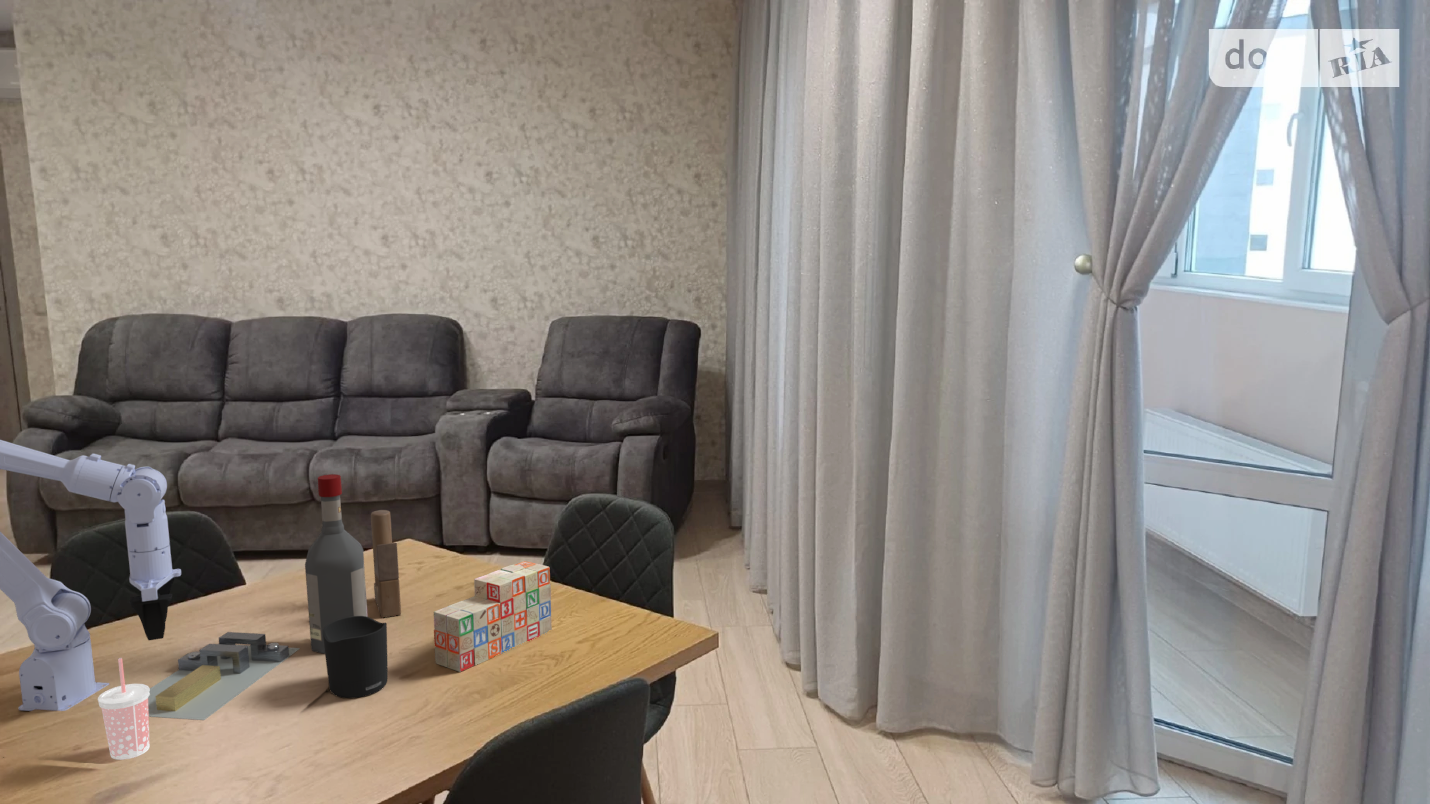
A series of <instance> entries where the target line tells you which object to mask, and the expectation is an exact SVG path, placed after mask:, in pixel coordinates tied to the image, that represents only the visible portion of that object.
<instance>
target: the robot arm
mask: <svg viewBox="0 0 1430 804" xmlns="http://www.w3.org/2000/svg"><path fill="white" fill-rule="evenodd" d="M101 458H102V455H101V454H97V453H91V454H90V455H89V456H87V455H83V454H82V455H80V456H79V455H78V456H77V457H76V458H73V459H67V458H64V457H60V456H57V455H53V454H50V453H46V452H43V451H40V450H36V449H33V448H31V447H30V448H29V447H27V446H24V445H19V444H15V443H12V442H9V441H6V440H2V439H0V470H4V471H8V472H9V471H10V472H14V473H19V474H24V475H29V476H33V477H39V478H43V479H49V480H54V481H59V482H61V483H62V484H63V486H64V487H65V488H66V490H67V491H68V492H69V493H73V494H77V495H82V496H85V497H88V498H89V497H91V498H95V499H98V500H103V501H107V502H111V503H118V504H119V505H120V507H122V508H123V509H124V518H125V520H124V527H125V537H126V547H127V556H128V563H129V564H128V565H129V573H130V574H129V578H128V579H129V583H130V584H131V586H133V587H135V588H136V589H137V590H138V591H139V593H140V595H138V596H137V595H135V596H131V597H129V604H130V606H131V608H132V609H133V610H134V611H135V613H136V614H137V616H138V617H139V620H140V622H141V625H142V628H143V631H144V633H145V637H146V638H147V640H148V641H155V640H160V639H161V640H162V639H164V636H165V630H166V621H167V617H168V611H169V610H168V609H169V605H170V602H171V601H172V599H173V593H170V592H171V589H172V586H173V584H174V581H175V580H176V579H175V578H179V577H181V575H182V569H181V568H175V569H173V563H172V555H171V542H170V541H171V540H170V533H169V521H168V515H167V513H166V504H165V503H166V501H165V499H163V497H164V496H166V495H165V494H166V493H167V488H168V483H167V479H166V477H165V476H164V474H163V473H162V472H160V471H159V470H157V469H154V468H152V467H151V466H140V467H137V468H136V465H135V464H133V463H128V464H127V465H124V464H120V463H115V462H112V461H108V460H104V459H101ZM0 591H2V593H4V595H6V597H8V598H9V599H10V601H12V602H13V603H14V606H15V607H14V608H15V613H16V616H17V620H18V621H19V622H20V623H22V625H23V626H24V627H25V630H26V632H27V636H28V639H29V641H30V642H31V643H32V644H33V645H34V649H33V651H32V653H31V654H30V656H28V657H27V658H26V659H24V660H23V662H22V663H21V664H20V667H19V671H18V676H19V684H20V691H21V693H20V694H21V700H22V701H21V702H22V704H21V705H19V706H18V708H17V709H18V711H27V712H28V711H29V712H32V711H34V710H43V711H44V710H45V711H55V712H56V711H58V712H63V711H64V712H65V711H68V710H69V709H71V708H73V707H75V706H76V705H77V704H79V703H81V702H82V701H85V699H87V698H89V697H91V696H92V695H94V694H96V693H98V692H99V691H101V690H102V689H104V688H105V687H107V686H109V685H110V683H109V682H98V681H97V682H96V677H95V669H94V659H93V650H92V642H91V640H92V639H91V633H90V631H89V630H88V628H87V627H86V624H85V623H87V621H88V619H89V617H90V615H91V612H92V607H91V603H90V600H89V599H88V597H86V596H85V595H84V594H83V593H81V592H79V591H77V590H76V591H75V590H72V589H70V588H69V587H67V586H66V585H64V583H63V582H62V581H60V580H56V579H53V578H49V577H47V576H46V575H45V574H44V573H43V572H42V571H41V570H40V569H39V568H38V567H37V566H36V565H35V564H34V563H33V562H32V561H31V560H30V559H29V558H28V557H27V556H26V555H25V554H24V553H23V552H22V551H20V550H19V548H18V547H17V546H16V545H15V544H14V543H13V542H12V541H11V540H10V539H8V537H7V536H5V534H3V532H1V531H0Z"/></svg>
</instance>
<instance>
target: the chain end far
mask: <svg viewBox="0 0 1430 804" xmlns="http://www.w3.org/2000/svg"><path fill="white" fill-rule="evenodd" d="M218 644H223V645H250V646H251V658H252V661H268V662H282V661H283V660H284V661H286V660H287V659H288V658H290V657H289V648H290V647H289V645H281V644H280V643H278V642H270V643H268V644H267V639H266V633H254V632H252V633H251V632H236V631H235V632H234V631H233V632H232V631H227V632H226V633H224V634H223V635H221V636H219V637H218ZM287 657H288V658H287ZM220 658H221V659H228V658H230V657H223V656H220ZM286 658H287V659H286ZM285 659H286V660H285ZM284 661H283V662H284ZM283 662H282V663H283Z"/></svg>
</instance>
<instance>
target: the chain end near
mask: <svg viewBox="0 0 1430 804" xmlns="http://www.w3.org/2000/svg"><path fill="white" fill-rule="evenodd" d="M241 645H242V644H235V645H223V644H219V643H208V644H206V645H205V646H204V647H202V648H200V649H199V651H196V650H195V651H191V652H188V653H187V654H185V655H183V656H181V657H180V658H178V659H177V664H178V665H177V666H178V670H184V671H194V670H196V669H197V668H199V667H200V666H202V665H209V666H218V660H217V656H223V657H232V661H233V673H235V674H241V673H242V672H244V671H245V670H246V669H248V668H249V667H250V666H249V655H248V646H241Z"/></svg>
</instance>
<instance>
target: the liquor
mask: <svg viewBox="0 0 1430 804" xmlns="http://www.w3.org/2000/svg"><path fill="white" fill-rule="evenodd" d="M317 488H318V489H317V490H318V491H317V492H318V496H319V497H320V503H321V519H322V523H321V524H322V526H321V530H320V534H319V535H318V536H317V538H316V539H315V540H314V541H313V542H312V544H311V545H310V546H309V548H308V551H307V555H306V559H305V564H304V567H305V568H304V569H305V581H306V594H307V595H306V597H307V598H306V599H307V608H308V610H307V611H308V621H309V622H308V623H309V624H308V625H309V637H310V649H311V651H312V652H316V653H319V654H324V655H325V648H324V639H323V629H324V627H325V626H326V625H328V624H329V623H331V622H333V621H336V620H339V619H342V618H346V617H352V616H366V617H369V616H368V603H367V602H368V601H367V585H366V573H365V558H364V555H365V554H364V548H363V546H362V544H361V542H359V541H358V539H356V538H355V537H354V536H353V535H351V534H350V533H349V532H348V531H347V530H345V525H344V522H343V518H342V508H341V505H342V504H341V495H342V494H343V487H342V477H341V475H340V474H333V473H332V474H323V475H319V476H318V477H317Z"/></svg>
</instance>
